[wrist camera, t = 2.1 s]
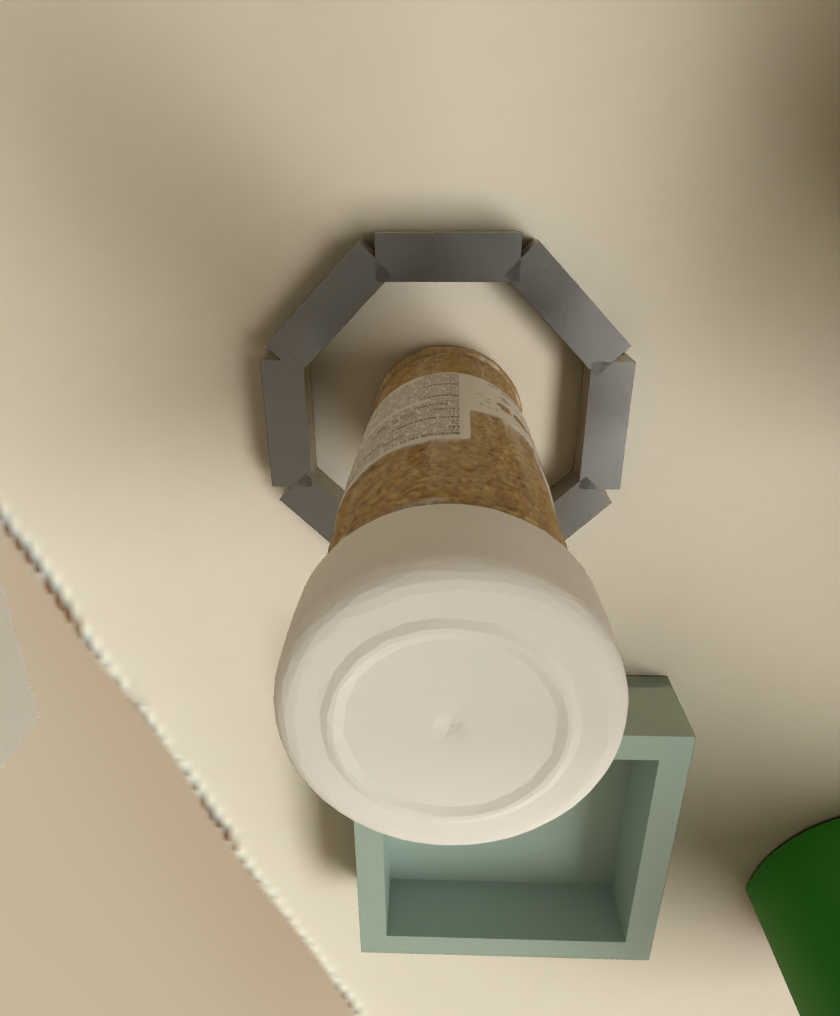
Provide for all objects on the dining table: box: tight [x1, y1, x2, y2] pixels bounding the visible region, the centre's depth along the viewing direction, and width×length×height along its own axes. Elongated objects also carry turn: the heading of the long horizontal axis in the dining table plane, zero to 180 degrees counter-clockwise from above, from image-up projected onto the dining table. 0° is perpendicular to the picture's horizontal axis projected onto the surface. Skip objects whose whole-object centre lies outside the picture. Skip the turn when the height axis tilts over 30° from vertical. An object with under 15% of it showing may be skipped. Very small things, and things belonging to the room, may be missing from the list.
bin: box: [354, 676, 696, 960], centre depth 25 cm, size 11×11×3 cm
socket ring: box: [260, 231, 636, 543], centre depth 20 cm, size 10×10×1 cm
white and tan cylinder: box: [274, 346, 629, 845], centre depth 15 cm, size 5×5×14 cm
